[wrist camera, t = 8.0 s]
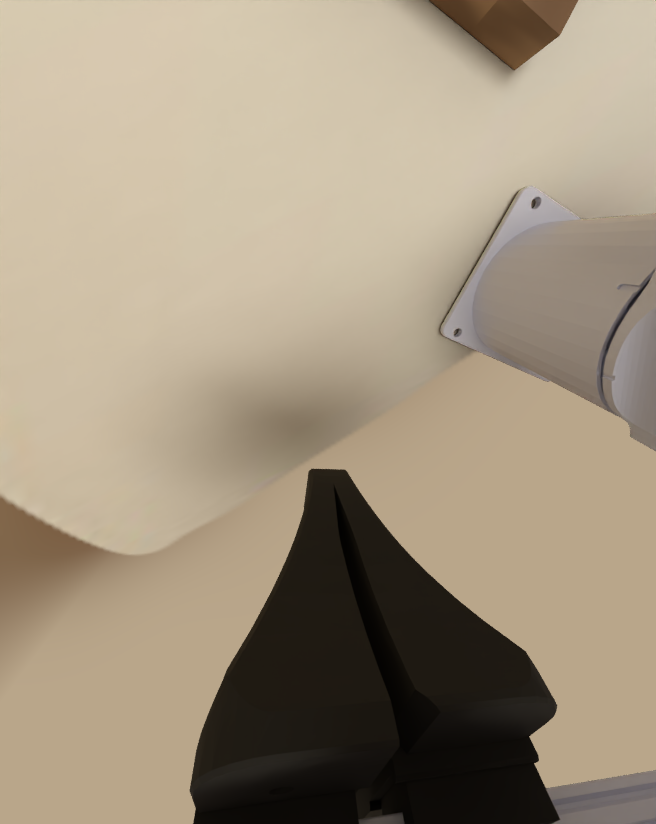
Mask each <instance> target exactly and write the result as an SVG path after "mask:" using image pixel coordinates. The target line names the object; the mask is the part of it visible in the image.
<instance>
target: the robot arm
mask: <svg viewBox="0 0 656 824" xmlns="http://www.w3.org/2000/svg"><path fill="white" fill-rule="evenodd" d="M534 198H535V200H536V204H535V206H534V207H533V209H532V207H531V203H532V200H533V199H534ZM456 329H459V331H458V333H457V334H456V335H454V334H453V333H454V331H455V330H456ZM440 332H441V334H442V335H443V336H445V337H447V338H449V339H451V340H453V341H456V342H458V343H460V344H462V345H465V346H467V347H469V348H471V349H474V350H476V351H478V352H481V353H483V354H485V355H487V356H490V357H492V358H494V359H497V360H499V361H501V362H503V363H506V364H508V365H510V366H512V367H515V368H517V369H519V370H521V371H524V372H526V373H528V374H531V375H533V376H535V377H537V378H539V379H542V380H544V381H547V382H548V381H552V382H554V383H556V384H558V385H560V386H561V387H563V388H565V389H567V390H569V391H571V392H573V393H575V394H577V395H579V396H580V397H582V398H584V399H586V400H588V401H590V402H592V403H594V404H596V405H597V406H599V407H601V408H603V409H605V410H607V411H609V412H611V413H613V414H615V415H617V416H619V417H621V418H623V419H624V420H625V421H626V422H628V424H629V427H630V437H632V438H634V439H635V440H637V441H639V442H640V443H642V444H644V445H646V446H648V447H649V448H651V449H653V450H654V451H656V213H653V214H641V215H629V216H617V217H605V218H593V219H581V218H580V217H578V216H577V215H575V214H574V213H572V212H571V211H569V210H568V209H566V208H565V207H564V206H562V205H561V204H559V203H558V202H556V201H555V200H553V199H552V198H551V197H549V196H548V195H546V194H545V193H543V192H542V191H540V190H539V189H537V188H536V187H534V186H529V187H525V188H523V189H521V190H520V191H519V192H518V194H517V195H516V197H515V199H514V200H513V202H512V204H511V206H510V207H509V209H508V211H507V213H506V214H505V216H504V218H503V219H502V221H501V223H500V225H499V226H498V228H497V230H496V232H495V233H494V235H493V237H492V239H491V240H490V242H489V244H488V246H487V247H486V249H485V251H484V253H483V254H482V256H481V258H480V259H479V261H478V263H477V265H476V266H475V268H474V270H473V272H472V273H471V275H470V277H469V279H468V280H467V282H466V284H465V286H464V287H463V289H462V291H461V293H460V294H459V296H458V298H457V300H456V301H455V303H454V305H453V306H452V308H451V310H450V312H449V313H448V315H447V317H446V319H445V320H444V322H443V324H442V326H441V328H440ZM556 709H557V704H556V702H555V700H554V698H553V697H552V695H551V693H550V691H549V690H548V688H547V686H546V685H545V683H544V681H543V679H542V677H541V675H540V674H539V672H538V670H537V669H536V667H535V665H534V664H533V663H532V661H531V659H530V658H529V656H528V655H527V653H526V651H524V650H523V649H522V648H520V647H519V646H517V645H516V644H515V643H513V642H512V641H510V640H509V639H508V638H507V637H505V636H503V635H502V634H501V633H500V632H498V631H497V630H496V629H494V628H493V627H491V626H490V625H489V624H487V623H486V622H485V621H483V620H482V619H481V618H479V617H478V616H477V615H476V614H474V613H473V612H472V611H471V610H470V609H468V608H467V607H466V606H465V605H463V604H462V603H461V602H460V601H459V600H457V599H456V598H455V597H454V596H453V595H452V594H450V593H449V592H448V591H447V590H446V589H445V588H444V587H443V586H442V585H440V584H439V583H438V582H437V581H436V580H435V579H434V578H433V577H431V575H429V574H428V573H427V572H426V571H425V570H424V569H423V568H422V567H421V566H420V565H419V564H418V563H417V562H416V561H415V560H414V559H413V558H412V557H411V556H410V555H409V554H408V552H407V551H406V550H405V549H404V548H403V547H402V546H401V545H400V544H399V543H398V541H397V540H396V539H395V538H394V537H393V536H392V534H391V533H390V532H389V531H388V530H387V528H386V527H385V526H384V524H383V523H382V522H381V521H380V519H379V518H378V517H377V515H376V514H375V513H374V511H373V510H372V509H371V507H370V506H369V505H368V503H367V502H366V500H365V499H364V497H363V496H362V495H361V493H360V492H359V490H358V489H357V487H356V485H355V484H354V482H353V481H352V479H351V477H350V476H349V474H348V473H347V471H346V470H336V469H335V470H334V469H311V470H310V471H309V473H308V481H307V488H306V496H305V504H304V512H303V515H302V519H301V522H300V525H299V528H298V531H297V534H296V537H295V540H294V542H293V544H292V547H291V550H290V552H289V554H288V557H287V559H286V562H285V564H284V566H283V568H282V571H281V572H280V575H279V577H278V579H277V581H276V583H275V585H274V587H273V589H272V591H271V593H270V595H269V597H268V599H267V601H266V603H265V605H264V607H263V608H262V610H261V612H260V614H259V616H258V618H257V620H256V621H255V624H254V625H253V627H252V629H251V631H250V632H249V634H248V636H247V637H246V639H245V641H244V642H243V644H242V646H241V647H240V649H239V651H238V652H237V654H236V656H235V657H234V659H233V661H232V662H231V664H230V666H229V667H228V669H227V671H226V674H225V676H224V679H223V681H222V684H221V686H220V688H219V690H218V692H217V695H216V697H215V699H214V702H213V704H212V707H211V709H210V711H209V714H208V716H207V719H206V721H205V724H204V727H203V729H202V732H201V736H200V739H199V743H198V746H197V750H196V756H195V762H194V768H193V774H192V781H191V786H190V793H191V796H192V799H193V802H194V804H195V807H196V811H195V817H194V823H193V824H656V770H654V771H648V772H642V773H636V774H630V775H624V776H618V777H612V778H606V779H600V780H594V781H588V782H581V783H576V784H570V785H563V786H558V787H551V788H545V786H544V784H543V782H542V780H541V777H540V775H539V773H538V771H537V769H536V767H535V765H534V763H536V762H538V761H539V758H538V754H537V752H536V750H535V748H534V746H533V744H532V742H531V740H530V738H529V736H530V735H531V734H533V733H534V732H535V731H537V730H538V729H539V728H541V727H542V726H543V725H545V724H546V723H547V722H548V721H549V720H550V719H551V718H553V717H554V715H555V713H556Z"/></svg>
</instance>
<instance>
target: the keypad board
mask: <svg viewBox="0 0 656 824" xmlns="http://www.w3.org/2000/svg"><path fill="white" fill-rule="evenodd" d="M430 1H431V2H432V3H433V4H435V5H436V6H437V7H438V8H439V9H441V10H442V11H443V12H444V13H445V14H447V15H448V16H449V17H450V18H452V19H453V20H454V21H455V22H456V23H458V24H459V25H460V26H461V27H463V28H464V29H465V30H466V31H467V32H469V33H470V34H471V35H472V36H474V37H475V38H476V39H477V40H478V41H480V42H481V43H482V44H483V45H484V46H486V47H487V48H488V49H489V50H491V51H492V52H493V53H494V54H495V55H497V56H498V57H499V58H500V59H502V60H503V61H504V62H505V63H506V64H508V65H509V66H510V67H511V68H513V69H514V70H515V69H517V68H518V67H519V66H521V65H522V64H523V63H525V62H526V61H527V60H528V59H530V58H531V57H532V56H534V55H535V54H536V53H537V52H539V51H540V50H541V49H543V48H544V47H545V46H547V45H548V44H549V43H550V42H552V41H553V40H554V39H556V38H557V37H558V36H559V35H560V34H561V32H562V30H563V28H564V26H565V24H566V23H567V21H568V19H569V17H570V15H571V13H572V11H573V9H574V7H575V5H576V3H577V2H578V0H430Z"/></svg>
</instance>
